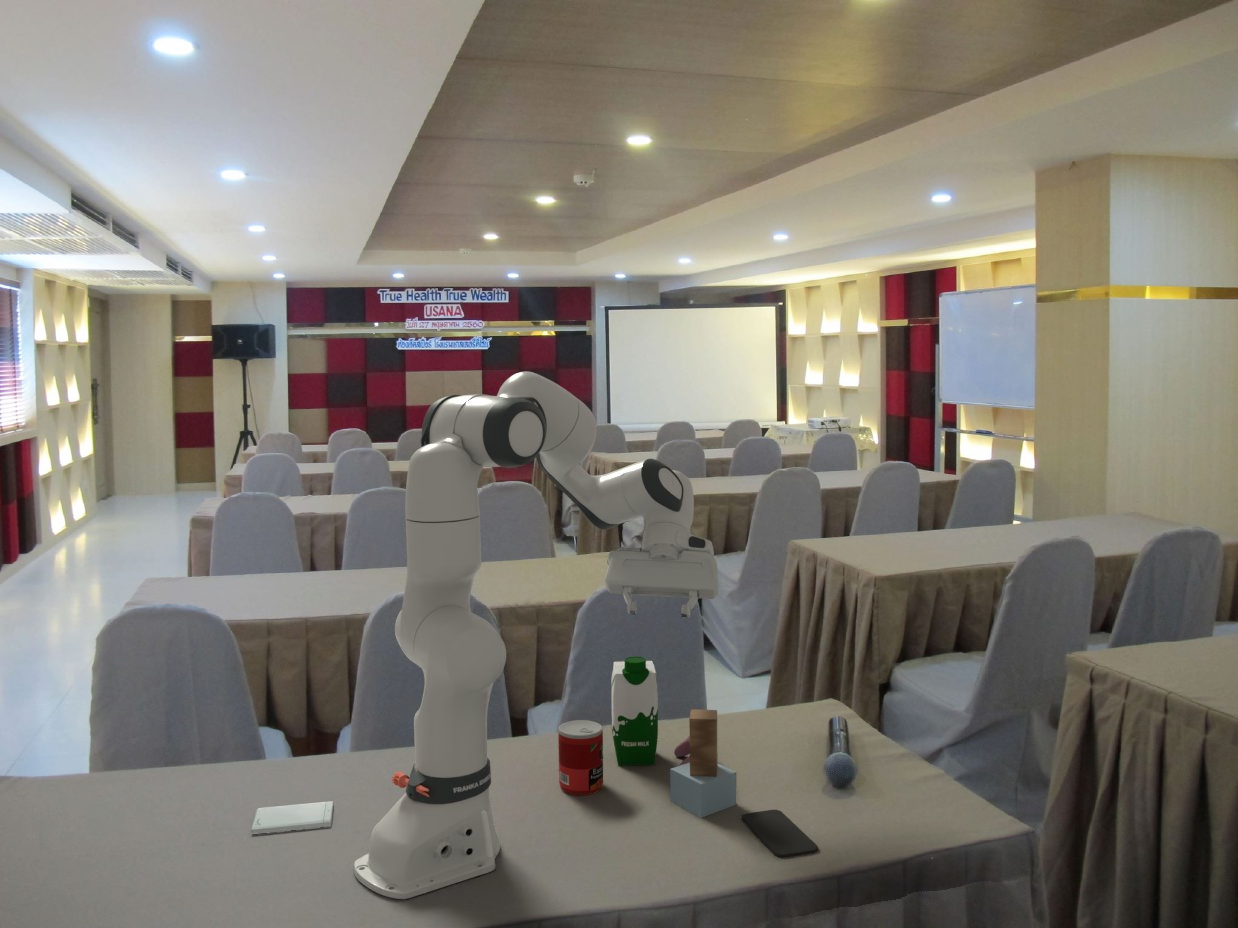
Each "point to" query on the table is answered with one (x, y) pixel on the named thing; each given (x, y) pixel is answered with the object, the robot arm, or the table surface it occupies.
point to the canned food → (580, 757)
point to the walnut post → (703, 743)
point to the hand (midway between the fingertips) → (658, 614)
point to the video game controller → (683, 750)
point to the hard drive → (293, 817)
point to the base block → (702, 790)
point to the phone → (779, 833)
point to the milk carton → (634, 711)
